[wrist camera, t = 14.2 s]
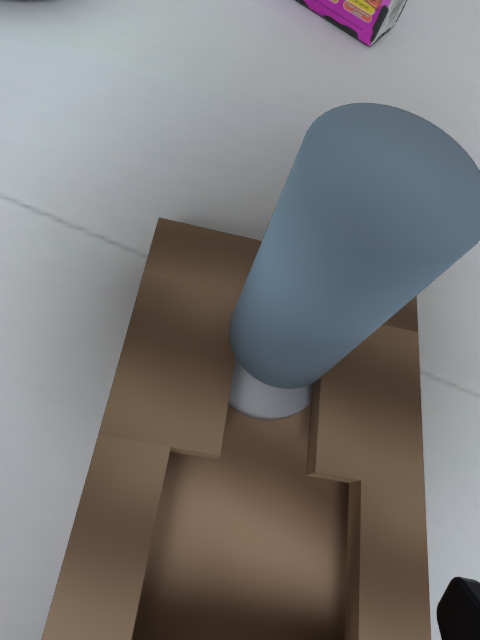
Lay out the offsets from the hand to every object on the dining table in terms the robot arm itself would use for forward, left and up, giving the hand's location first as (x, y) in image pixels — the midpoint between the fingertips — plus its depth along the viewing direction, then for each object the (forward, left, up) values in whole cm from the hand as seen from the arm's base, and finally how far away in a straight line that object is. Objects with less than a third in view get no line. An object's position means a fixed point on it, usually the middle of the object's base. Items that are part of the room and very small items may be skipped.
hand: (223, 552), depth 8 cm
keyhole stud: (+6, -6, -11) cm, 14 cm away
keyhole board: (+1, -4, -12) cm, 13 cm away
